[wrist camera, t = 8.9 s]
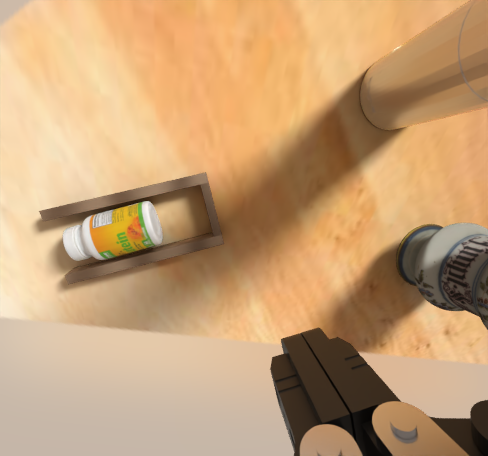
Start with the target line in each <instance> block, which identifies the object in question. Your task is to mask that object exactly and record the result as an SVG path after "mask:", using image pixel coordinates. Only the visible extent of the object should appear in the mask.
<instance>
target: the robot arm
mask: <svg viewBox="0 0 488 456" xmlns="http://www.w3.org/2000/svg"><path fill="white" fill-rule="evenodd" d="M360 102H361V106H362V110H363V112H364V114H365V116H366V117H367V119H368V120H369V121H370V122H371V123H372V124H373V125H374V126H376V127H378V128H380V129H384V130H395V129H399V128H403V127H408V126H412V125H417V124H421V123H425V122H429V121H433V120H438V119H442V118H446V117H450V116H454V115H458V114H462V113H467V112H471V111H475V110H479V109H483V108H487V107H488V0H470V1H468V2H467V3H465V4H463V5H462V6H460V7H459V8H457V9H456V10H454V11H453V12H451V13H450V14H448V15H447V16H445V17H444V18H442V19H441V20H439V21H438V22H436V23H435V24H433V25H432V26H430V27H428V28H427V29H425V30H424V31H422V32H421V33H419V34H418V35H416V36H415V37H413V38H412V39H410V40H409V41H407V42H406V43H404V44H403V45H401V46H399V47H398V48H396V49H395V50H393V51H392V52H390V53H389V54H387V55H386V56H384V57H383V58H381V59H380V60H378V61H377V62H376V63H374V64H373V65H372V66H371V67H370V69H369V70H368V71H367V73H366V75H365V76H364V79H363V81H362V84H361V90H360ZM281 343H282V348H283V352H284V354H282V355H278V356H275V357H272V363H271V374H272V378H273V382H274V386H275V390H276V395H277V399H278V403H279V406H280V409H281V412H282V415H283V418H284V421H285V424H286V427H287V430H288V434H289V437H290V439H291V443H292V446H293V448H294V452H295V453H294V456H488V400H485V401H480V402H478V403H476V404H475V405H474V406H473V407H472V409H471V419H456V418H455V419H454V418H453V419H451V418H449V419H448V418H445V419H444V418H433V417H429V416H427V415H426V414H425V413H424V412H423V411H421V410H420V409H418V408H416V407H415V406H412V405H410V404H408V403H404V402H401V401H400V400H399V399H398V398H397V397H396V395H395V394H394V393H393V392H392V391H391V390H390V389H389V387H388V386H387V385H386V384H385V383H384V382H383V381H382V379H381V378H380V377H379V376H378V375H377V374H376V373H375V371H374V370H373V369H372V368H371V367H370V366H369V365H368V364H367V362H366V361H365V360H364V359H363V358H362V357H361V356H360V355H359V353H358V352H357V351H356V350H355V349H354V347H353V346H352V345H351V344H350V343H348V342H346V341H344V340H342V339H340V338H338V337H337V338H333V339H330V340H329V339H328V337H327V336H326V335H325V334H324V332H323V331H322V330H321V329H320V328H316V329H312V330H309V331H306V332H302V333H299V334H296V335H293V336H289V337H286V338H283V339H281Z"/></svg>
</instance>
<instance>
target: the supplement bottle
mask: <svg viewBox="0 0 488 456" xmlns="http://www.w3.org/2000/svg"><path fill="white" fill-rule="evenodd" d="M162 240H163V233H162V228H161V224H160V221H159V218H158V215H157V212H156V210H155V208H154V206H153V205H152V203H151V202H149V201H145V202H140V203H136V204H132V205H129V206H125V207H121V208H117V209H114V210H110V211H106V212H102V213H98V214H94V215H91V216H89V217H87V218H86V219H85V220H84V221H83V224H82V225H76V226H73V227H70V228H67V229H66V230H65V231H64V233H63V243H64V247H65V249H66V251H67V253H68V255H69V256H70V257H71V258H72V259H73V260H76V261H80V260H84V259H88V258H90V257H92V256H93V257H94V258H96V259H99V260H105V259H110V258H113V257H117V256H120V255H124V254H127V253H131V252H135V251H138V250H142V249H145V248H149V247H153V246H156V245H159V244H161V243H162Z"/></svg>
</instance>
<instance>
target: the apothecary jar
mask: <svg viewBox="0 0 488 456" xmlns="http://www.w3.org/2000/svg"><path fill="white" fill-rule="evenodd" d="M396 263H397V268H398V271H399V274H400V275H401V276H402V278H403V279H404V280H405V281H406V282H408V283H409V284H411V285H414V286H417V287H418V290H419V291H420V293H421V294H422V296H423V297H424V298H425V299H426V300H427V301H428V302H430V303H431V304H433V305H434V306H436V307H439V308H441V309H444V310H449V311H463V310H466V311H468V312H471V313H473V314H475V315H477V316H479V317H480V318H481V320H482V322H483V324H484V325H485V327H486V328H487V329H488V229H486V228H484V227H482V226H480V225H477V224H472V223H457V224H452V225H449V226H446V227H444V228H443V227H442V226H439V225H435V224H427V225H422V226H420V227H417V228H415V229H414V230H412V231H411V232H410V233H409V234H408V235H407V236H406V237H405V238H404V239H403V241H402V242H401V244H400V246H399V249H398V252H397V258H396Z"/></svg>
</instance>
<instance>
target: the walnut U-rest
mask: <svg viewBox="0 0 488 456" xmlns="http://www.w3.org/2000/svg"><path fill="white" fill-rule="evenodd" d="M196 185H201V189H202V193H203V197H204V201H205V204H206V208H207V212H208V216H209V220H210V224H211V227H212V231H213V233H210V234H206V235H202V236H198V237H194V238H190V239H186V240H182V241H178V242H174V243H170V244H166V245H163V246H159V247H155V248H151V249H147V250H143V251H139V252H135V253H131V254H127V255H123V256H119V257H115V258H112V259H108V260H104V261H100V262H96V263H92V264H88V265H84V266H80V267H76V268H74V269H73V270H71V271H70V272H68V273H67V274H66V275H65V277H66V280H67V282H68V284H72V283H76V282H79V281H83V280H87V279H91V278H95V277H99V276H102V275H106V274H110V273H114V272H118V271H122V270H126V269H129V268H133V267H137V266H141V265H145V264H149V263H152V262H156V261H160V260H164V259H168V258H172V257H176V256H179V255H183V254H187V253H191V252H195V251H199V250H202V249H206V248H210V247H214V246H218V245H222V244H224V242H223V238H222V234H221V230H220V226H219V222H218V218H217V214H216V210H215V206H214V202H213V198H212V194H211V190H210V186H209V182H208V178H207V174H206V173H202V174H197V175H193V176H189V177H184V178H180V179H176V180H171V181H167V182H163V183H158V184H154V185H150V186H146V187H141V188H137V189H133V190H128V191H124V192H120V193H115V194H111V195H107V196H102V197H98V198H94V199H89V200H85V201H81V202H76V203H72V204H68V205H64V206H59V207H55V208H51V209H46V210H42V211H39V212H40V214H41V217H42V219H43V221H47V220H52V219H56V218H60V217H64V216H69V215H73V214H77V213H81V212H85V211H90V210H94V209H98V208H102V207H107V206H111V205H115V204H119V203H124V202H128V201H132V200H136V199H141V198H145V197H149V196H153V195H158V194H162V193H166V192H170V191H175V190H179V189H183V188H187V187H192V186H196Z"/></svg>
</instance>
